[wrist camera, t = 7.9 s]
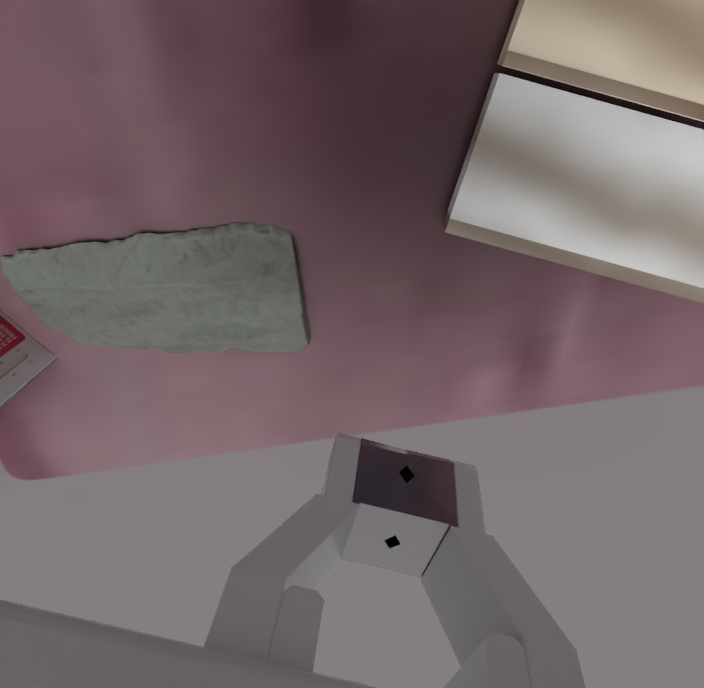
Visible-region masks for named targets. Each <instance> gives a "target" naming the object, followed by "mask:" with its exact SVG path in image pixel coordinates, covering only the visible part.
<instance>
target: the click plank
mask: <svg viewBox="0 0 704 688" xmlns="http://www.w3.org/2000/svg"><path fill="white" fill-rule="evenodd" d="M443 223H444V230H445V233H449V234H453V235H456V236H460V237H464V238H467V239H471V240H475V241H478V242H482V243H486V244H489V245H493V246H496V247H500V248H504V249H507V250H511V251H515V252H518V253H522V254H526V255H529V256H533V257H536V258H540V259H544V260H547V261H551V262H555V263H558V264H562V265H566V266H569V267H573V268H576V269H580V270H584V271H587V272H591V273H595V274H598V275H602V276H606V277H609V278H613V279H617V280H620V281H624V282H627V283H631V284H635V285H638V286H642V287H646V288H649V289H653V290H657V291H660V292H664V293H667V294H671V295H675V296H678V297H682V298H686V299H689V300H693V301H697V302H700V303H704V130H703V129H700V128H696V127H692V126H689V125H685V124H682V123H678V122H674V121H671V120H667V119H664V118H660V117H656V116H653V115H649V114H646V113H642V112H638V111H635V110H631V109H628V108H624V107H620V106H617V105H613V104H610V103H606V102H602V101H599V100H595V99H592V98H588V97H584V96H581V95H577V94H574V93H570V92H566V91H563V90H559V89H556V88H552V87H548V86H545V85H541V84H538V83H534V82H530V81H527V80H523V79H520V78H516V77H512V76H509V75H505V74H502V73H494V75H493V78H492V81H491V84H490V87H489V90H488V93H487V96H486V99H485V102H484V105H483V108H482V111H481V114H480V117H479V120H478V123H477V125H476V128H475V131H474V134H473V137H472V140H471V143H470V146H469V149H468V152H467V155H466V158H465V161H464V164H463V167H462V170H461V173H460V176H459V178H458V181H457V184H456V187H455V190H454V193H453V196H452V199H451V202H450V205H449V208H448V211H447V214H446V217H445V220H444V222H443Z"/></svg>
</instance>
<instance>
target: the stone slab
mask: <svg viewBox="0 0 704 688" xmlns="http://www.w3.org/2000/svg"><path fill="white" fill-rule="evenodd" d="M0 260H1V265H2V270H3V272H4V273H5V275H6V276H7V278H8V280H9V282H10V284H11V286H12V288H13V289H14V291H15V292H16V294H17V295H18V296H19V297H20V298H21V299H22V300H23V301H24V302H25V303H26V304H27V305H28V306H29V307H30V309H31V310H32V311H33V312H34V313H35V315H36V316H37V317H38V318H39V319H40V321H41V322H43V323H45V324H46V325H48V326H49V327H51V328H53V329H54V330H56V331H60V332H64V333H66V334H67V335H69V336H71V337H72V338H73V339H77V340H79V341H81V342H83V343H85V344H88V345H96V346H115V347H126V348H135V349H147V348H156V349H161V350H164V351H166V352H169V353H194V354H199V353H203V352H214V353H217V354H220V353H223V352H225V351H228V350H230V349H241V350H245V351H250V352H253V353H259V352H278V353H283V352H298V351H299V350H301V349H303V348H305V347H306V346H308V345H309V343H310V337H311V336H310V329H309V323H308V318H307V314H306V309H305V305H304V300H303V295H302V289H301V282H300V277H299V271H298V265H297V259H296V254H295V248H294V240H293V235H292V232H290V231H288V230H284V229H280V228H277V227H275V226H274V225H266V226H262V225H259V224H257V223H254V222H252V221H251V222H247V223H236V222H235V223H231V224H229V225H222V226H218V227H216V228H213V229H209V228H205V229H199V230H189V231H188V232H185V233H184V232H175V233H166V234H155V233H142V234H141V233H138V234H135V235H134V236H133V237H128V238H126V239H125V240H113V241H110V242H107V243H102V242H95V241H94V242H83V243H74V244H70V245H65V246H62V247H59V248H53V249H48V250H47V249H44V248H41V249H38V250H20V251H19V250H16V252H15V253H14V255H13V256H2V257H1V259H0Z"/></svg>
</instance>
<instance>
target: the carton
mask: <svg viewBox="0 0 704 688" xmlns="http://www.w3.org/2000/svg"><path fill="white" fill-rule="evenodd" d="M55 359H56V357H55V356H54V355H53V354H52V353H50V352H49V351H48V350H47V349H46V348H44V347H43V346H42V345H41V344H40V343H39V342H37V341H36V340H35V339H34V338H33V337H31V336H30V335H29V334H28V333H27V332H25V331H24V330H23V329H22V328H21V327H19V326H18V325H17V324H16V323H15V322H14V321H12V320H11V319H10V318H9V317H8V316H6V315H5V314H4V313H3V312H2V311H0V408H1V407H2V406H3V405H4V404H5V403H7V402H8V401H9V400H10V399H11V398H12V397H14V396H15V395H16V394H17V393H18V392H19V391H20V390H22V389H23V388H24V387H25V386H26V385H27V384H28V383H29V382H31V381H32V380H33V379H34V378H35V377H36V376H37V375H38V374H39V373H41V372H42V371H43V370H44V369H45V368H46V367H47V366H48V365H50V364H51V363H52V362H53V361H54V360H55Z"/></svg>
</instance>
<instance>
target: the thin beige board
mask: <svg viewBox="0 0 704 688" xmlns="http://www.w3.org/2000/svg"><path fill="white" fill-rule="evenodd" d="M497 64H498V65H501V66H504V67H508V68H511V69H515V70H519V71H522V72H526V73H529V74H533V75H537V76H540V77H544V78H547V79H551V80H555V81H558V82H562V83H565V84H569V85H573V86H576V87H580V88H583V89H587V90H591V91H594V92H598V93H601V94H605V95H609V96H612V97H616V98H619V99H623V100H627V101H630V102H634V103H637V104H641V105H645V106H648V107H652V108H655V109H659V110H663V111H666V112H670V113H673V114H677V115H681V116H684V117H688V118H691V119H695V120H699V121H702V122H704V0H519V2H518V5H517V8H516V11H515V14H514V17H513V20H512V23H511V25H510V28H509V31H508V34H507V37H506V40H505V43H504V46H503V49H502V51H501V54H500V57H499V60H498V63H497Z"/></svg>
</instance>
